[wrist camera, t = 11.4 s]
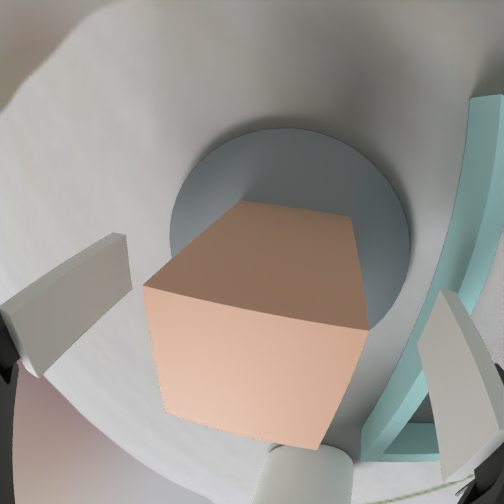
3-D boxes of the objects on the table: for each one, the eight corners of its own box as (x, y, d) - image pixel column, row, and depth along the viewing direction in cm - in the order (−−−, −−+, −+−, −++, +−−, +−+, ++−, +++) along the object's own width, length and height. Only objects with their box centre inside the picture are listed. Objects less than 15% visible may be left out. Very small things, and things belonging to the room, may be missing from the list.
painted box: (237, 199, 14) (137, 284, 7) (350, 216, 13) (369, 331, 6) (232, 293, 16) (161, 411, 9) (330, 311, 15) (316, 450, 8)
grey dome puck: (429, 153, 11) (434, 155, 11) (370, 361, 16) (370, 368, 16) (175, 121, 13) (169, 122, 13) (179, 323, 18) (175, 329, 18)
